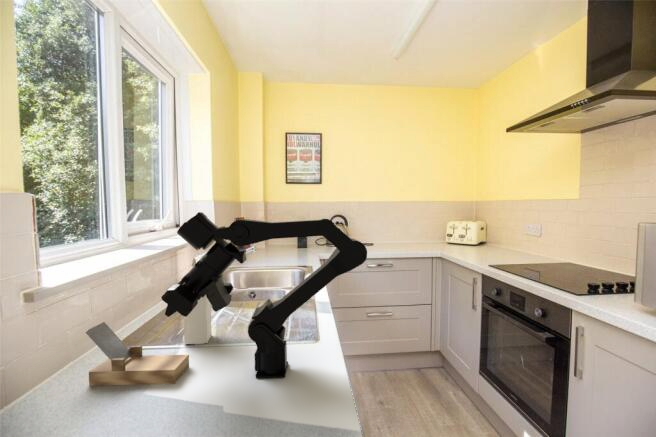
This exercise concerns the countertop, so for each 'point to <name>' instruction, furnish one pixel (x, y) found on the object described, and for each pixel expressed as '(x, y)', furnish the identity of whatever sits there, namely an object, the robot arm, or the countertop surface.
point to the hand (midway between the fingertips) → (167, 315)
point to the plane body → (139, 369)
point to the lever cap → (108, 342)
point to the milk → (198, 323)
